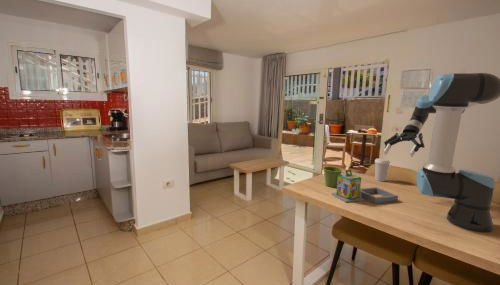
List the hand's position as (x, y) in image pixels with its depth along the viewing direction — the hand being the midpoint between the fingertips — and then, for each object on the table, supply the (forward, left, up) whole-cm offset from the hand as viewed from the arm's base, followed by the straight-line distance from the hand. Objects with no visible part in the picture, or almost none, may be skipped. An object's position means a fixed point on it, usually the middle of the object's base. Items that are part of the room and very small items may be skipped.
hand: (397, 153), depth 131 cm
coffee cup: (+29, -21, -26) cm, 45 cm away
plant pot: (+27, +21, -26) cm, 43 cm away
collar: (+3, +9, -26) cm, 27 cm away
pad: (+7, +25, -26) cm, 36 cm away
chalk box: (+7, +24, -25) cm, 35 cm away
